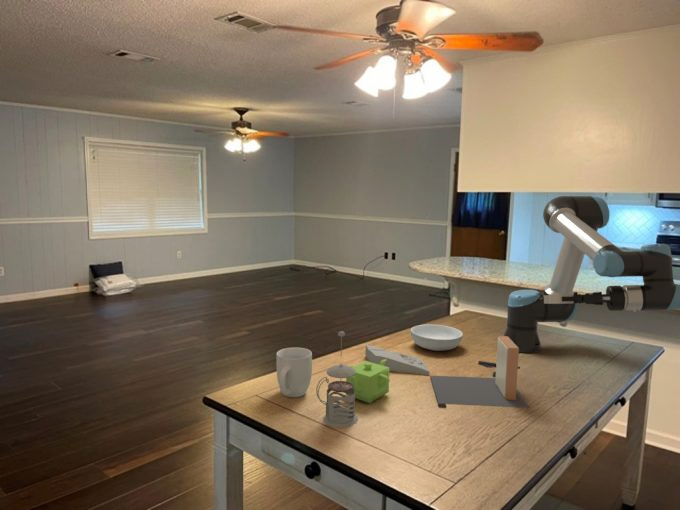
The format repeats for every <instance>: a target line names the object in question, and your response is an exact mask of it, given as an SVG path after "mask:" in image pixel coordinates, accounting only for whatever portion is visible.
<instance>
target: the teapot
mask: <svg viewBox="0 0 680 510" xmlns="http://www.w3.org/2000/svg"><path fill="white" fill-rule="evenodd" d="M386 360H387V359H384V360H382V361H381V362H380V364H375V363H371V362H369V361H368V360H366V361H363V362H361V363H359V364H356V365H350V366H349V365H348V366H349V367H352V368H353V369H354V370H355V371H356V373H355V375H354V376H352V377H348V378H345V381H347V382H350V383H352V384H353V385H354V388H353V389H354V390H355V398H357V399H356V400H360V401H362V402H365V403H367V404H373V403H372V402H374V401H375V400H378V399H381V398H383V396H384V395H386V394H387V393H389V392H390V391H389V390H390V387H389V386H390V380H391V379H390V371H389V367H386V366H384V364H385V362H386ZM345 395H346V396H350V394H346V393H345ZM380 397H381V398H380Z"/></svg>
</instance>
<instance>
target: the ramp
mask: <svg viewBox="0 0 680 510" xmlns="http://www.w3.org/2000/svg"><path fill="white" fill-rule="evenodd" d="M365 356H366V357H367V358H366V357H365ZM365 356H364V357H365V358H366V360H367V359H368V360H369V361H368V360H367V361H368V362H371V363H375V364H380V362H381V361H382V360H384V359H387V360H386V362H385V364H384V366H386V367H389V372H395V371H396V372H398V373H406V374H407V373H408V374H414V375H423V376H425V375H426V376H430V370H429V368H428V367H427V365H426V363H425V361H424V359H421V358H420V357H416V356H413V355H410V354H409V355H408V354H405V353H400V352H396V351H391V350H387V349H384V348H381V347H378V346H374V345H369V344H366V345H365Z"/></svg>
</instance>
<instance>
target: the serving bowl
mask: <svg viewBox="0 0 680 510" xmlns="http://www.w3.org/2000/svg"><path fill="white" fill-rule="evenodd" d="M410 335H411V336H410V337H411V339H412V341H413V342H414V344H416V345H417V346H419V347H421V348H423V349H427V350H430V351H434V352H435V351H436V352H441V351H442V352H443V351H449V350H453V349H455V348H457V347H458V346H459V345H460V344H461V342H462V340H463V337H464V332H462V331H461V330H460V329H458V328H455V327H452V326H448V325H442V324H428V323H427V324H420V325H418V324H417V325H415V326H413V327H411V329H410Z"/></svg>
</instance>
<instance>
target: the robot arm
mask: <svg viewBox="0 0 680 510" xmlns="http://www.w3.org/2000/svg"><path fill="white" fill-rule="evenodd" d="M542 218H543V221H544V223H545V225H546V226H547V227H548V228H549V229H550V230H551V231H552V232H554V233H557V234H561V235H562V237H563V241H562V244H561V247H560V250H559V254H558V257H557V261H556V262H555V267H554V269H553V273H552V277H551V281H550V283H549V284H548V285H545V287H544V289H543V292H542V293H540V292H539V291H537V290H535V289H519V290H514V291H512V292H511V293H510V294H509V296H508V301H507V315H506V316H507V317H506V318H507V319H506V328H505V330H504V333H503V335H502V336H508V337H509V338H510V339H511V340H512V341H513V342H514V344H515V345H516V346H517V347H518V348H519V353H522V354H523V353H524V354H525V353H526V354H529V353H531V354H532V353H533V354H534V353H537V352H540V351H541V350H542V349H541V347H542V343H541V340H540V337H539V333H538V324H539V323H563V322H564V323H565V322H570V321H572V320H573V319H574V318H575V317H576V315H577V313H578V311H579V310H578V309H579V306H578V304H586V305H594V306H603V304H605V303H606V307H607V309H608V310H609V311H611V312H613V311H614V312H615V311H617V312H618V311H623V310H625V311H632V312H633V313H637V311H672V310H673V311H674V310H676V311H677V310H680V284H679V283H675V281H674V275H673V274H674V273H673V257H672V251H671V247H670V245H669V244H666V243H654V244H653V243H651V244H644V245H642V246H641V247H640V250H622V249H620V248H619V247H618V246H617V245H615V244H614V243H612V242H611V241H610V240H608V239H607V238H606V237H604V236H603V235H602V234H600V233H599V232H598V229H603V228H604V227H607V225H608V223H609V222H610V221H609V220H610V209H609V207H608V203H607V202H606V200H605V199H603V198H602V197H599V196H592V195H588V196H587V195H585V196H584V195H579V196H578V195H577V196H575V195H571V196H570V195H569V196H568V195H560V196H557V197H554V198H552V199H551V200H550V201H548V203H546V205H545V206H544V209H543V213H542ZM585 255H586V256H587V257H588V258H589V259H591V260H592V268H593V269H594V271H595V273H596V274H597V275H598V276H600V277H607V278H621V277H623V278H626V277H642V282H643V284H628V285H627V284H626V285H623V286H621V285H609V286H606V288H605V293H603V292H602V291H594V292H586V293H585V294H581V293H579V294H578V291H574V288H575V284H576V282H577V278H578V276H579V272H580V269H581V267H582V264H583V260H584V258H585Z"/></svg>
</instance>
